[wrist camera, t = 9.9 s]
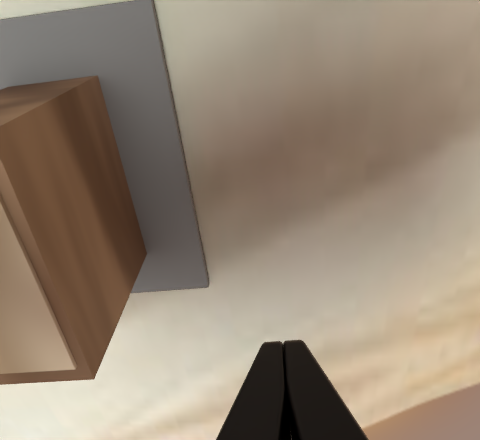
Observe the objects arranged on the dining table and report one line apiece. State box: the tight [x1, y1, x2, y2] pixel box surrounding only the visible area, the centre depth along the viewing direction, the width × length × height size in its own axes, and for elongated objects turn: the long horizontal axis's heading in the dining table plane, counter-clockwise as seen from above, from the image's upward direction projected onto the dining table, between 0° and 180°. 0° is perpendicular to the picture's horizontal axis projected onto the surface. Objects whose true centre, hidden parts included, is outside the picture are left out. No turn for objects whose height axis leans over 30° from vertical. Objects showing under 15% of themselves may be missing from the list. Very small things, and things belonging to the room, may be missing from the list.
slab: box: [0, 75, 147, 385], centre depth 16 cm, size 4×9×8 cm, turn 7°
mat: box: [0, 0, 209, 293], centre depth 20 cm, size 16×14×1 cm
